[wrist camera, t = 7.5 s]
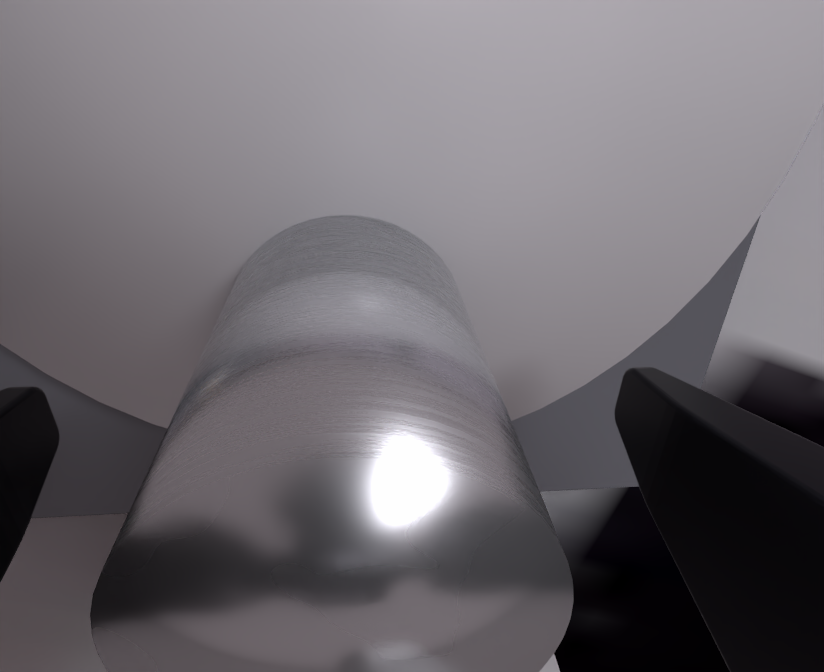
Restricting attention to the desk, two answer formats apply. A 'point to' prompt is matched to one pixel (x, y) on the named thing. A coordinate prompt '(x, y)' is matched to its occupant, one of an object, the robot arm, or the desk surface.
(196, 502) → the cylinder
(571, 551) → the desk surface
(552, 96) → the scale
